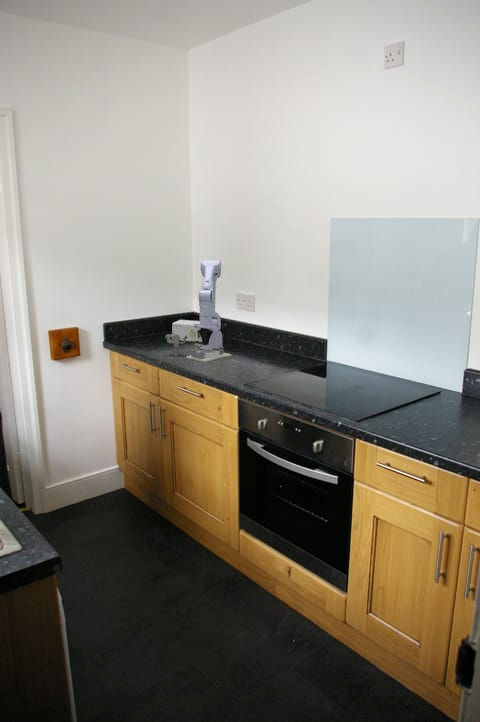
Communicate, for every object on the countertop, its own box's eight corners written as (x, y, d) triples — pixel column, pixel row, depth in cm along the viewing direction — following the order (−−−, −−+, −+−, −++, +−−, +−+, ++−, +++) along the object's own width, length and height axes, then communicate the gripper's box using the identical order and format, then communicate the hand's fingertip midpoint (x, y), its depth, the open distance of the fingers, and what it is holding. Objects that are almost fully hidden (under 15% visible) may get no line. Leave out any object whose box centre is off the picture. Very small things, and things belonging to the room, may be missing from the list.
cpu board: (213, 352, 286) (213, 344, 285) (231, 356, 278) (231, 348, 277) (186, 358, 273) (186, 350, 272) (204, 362, 265) (204, 354, 264)
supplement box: (171, 340, 315) (171, 323, 313) (180, 335, 327) (180, 319, 325) (201, 342, 311) (201, 324, 309) (209, 337, 323) (209, 321, 321)
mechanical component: (186, 356, 276) (186, 335, 274) (165, 356, 276) (164, 335, 274) (187, 355, 279) (187, 334, 277) (166, 354, 279) (165, 334, 277)
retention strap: (215, 347, 281) (215, 345, 281) (221, 349, 278) (222, 346, 278) (193, 345, 270) (194, 343, 270) (200, 346, 267) (200, 344, 267)
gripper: (188, 315, 271) (188, 343, 274) (210, 318, 262) (210, 348, 265) (199, 313, 276) (199, 341, 279) (221, 316, 267) (221, 346, 270)
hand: (205, 344), depth 272 cm, fingers closed, pressing on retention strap
